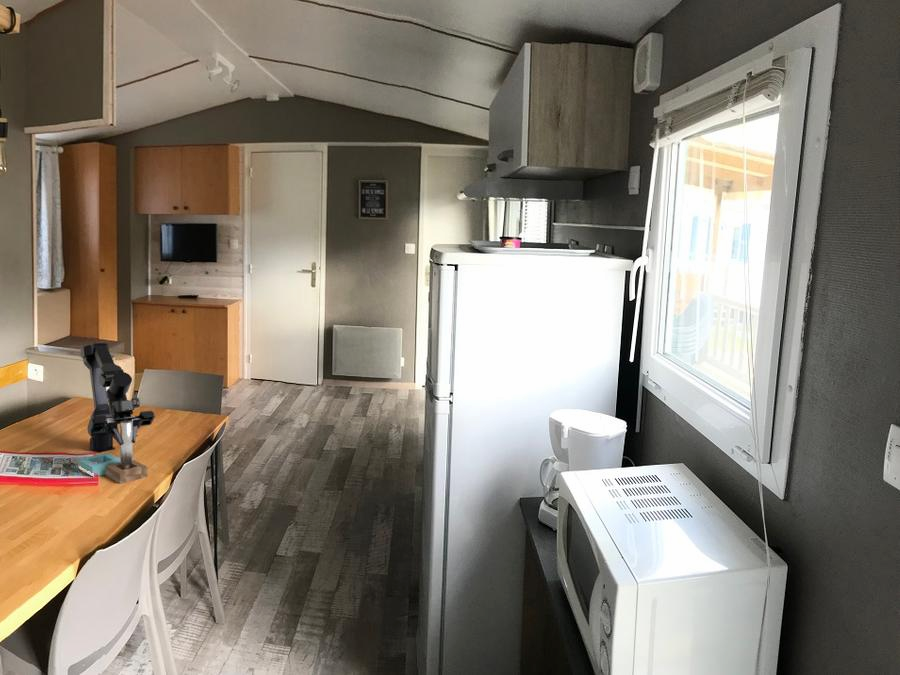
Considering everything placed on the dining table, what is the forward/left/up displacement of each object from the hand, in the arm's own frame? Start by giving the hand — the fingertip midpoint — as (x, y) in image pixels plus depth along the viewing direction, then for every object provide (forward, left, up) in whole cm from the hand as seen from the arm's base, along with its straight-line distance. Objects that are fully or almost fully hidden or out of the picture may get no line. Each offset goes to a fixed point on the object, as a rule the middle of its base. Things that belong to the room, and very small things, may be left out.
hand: (127, 443), depth 213 cm
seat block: (+3, -12, -12) cm, 17 cm away
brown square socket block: (0, -1, -12) cm, 12 cm away
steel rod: (0, -1, -7) cm, 7 cm away
